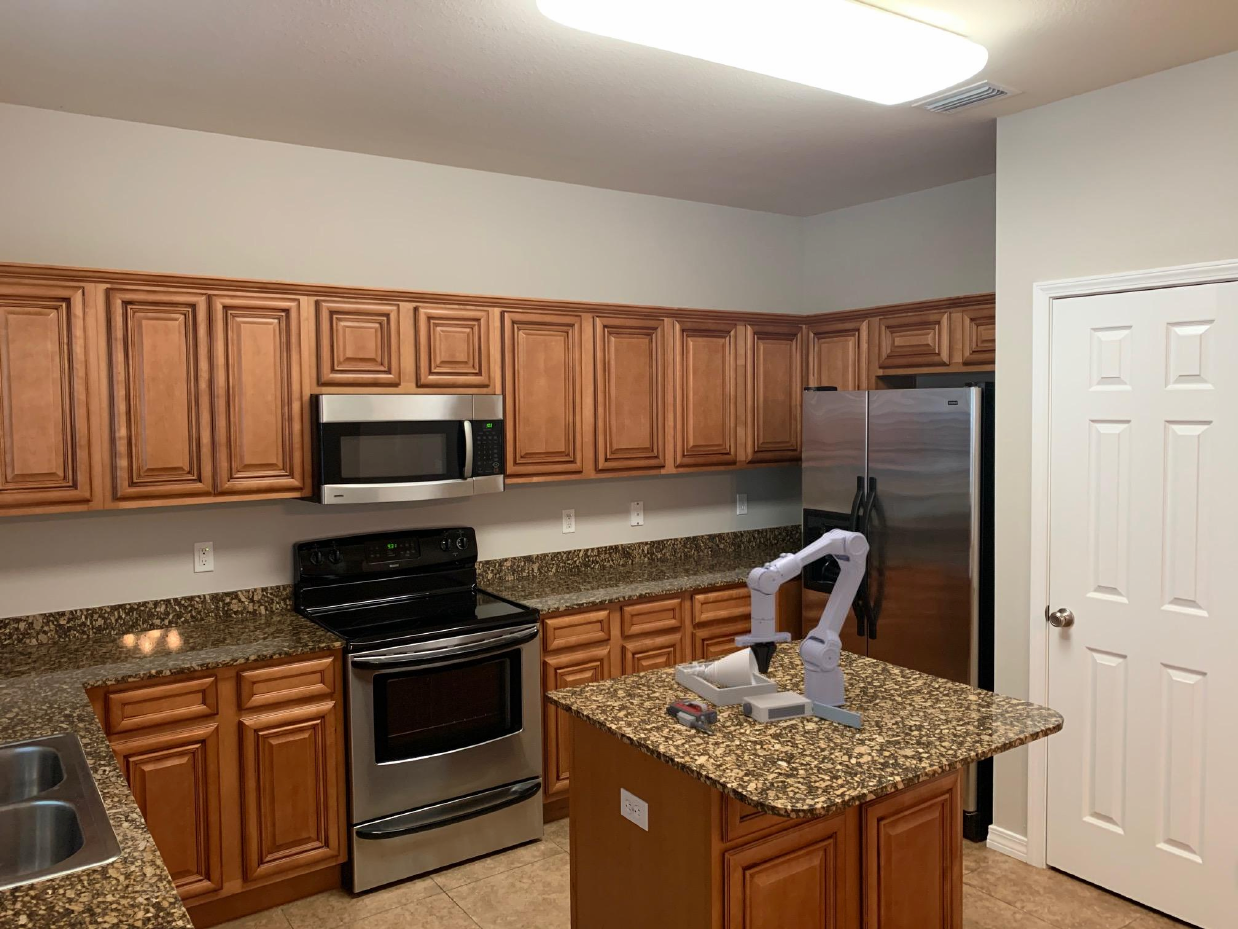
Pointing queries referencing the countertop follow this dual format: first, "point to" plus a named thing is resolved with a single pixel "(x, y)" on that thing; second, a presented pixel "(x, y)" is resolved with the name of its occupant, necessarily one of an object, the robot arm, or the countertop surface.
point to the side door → (837, 715)
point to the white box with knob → (776, 706)
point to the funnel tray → (723, 695)
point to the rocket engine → (729, 670)
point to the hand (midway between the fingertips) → (763, 673)
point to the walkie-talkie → (693, 713)
